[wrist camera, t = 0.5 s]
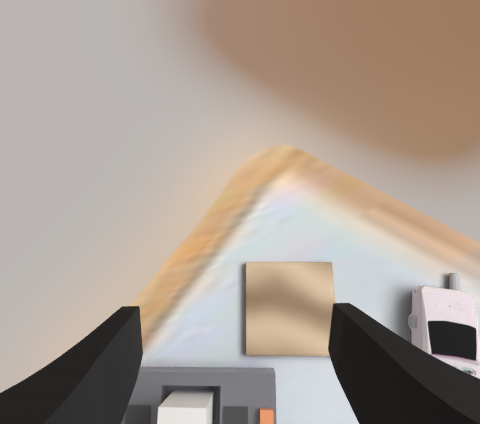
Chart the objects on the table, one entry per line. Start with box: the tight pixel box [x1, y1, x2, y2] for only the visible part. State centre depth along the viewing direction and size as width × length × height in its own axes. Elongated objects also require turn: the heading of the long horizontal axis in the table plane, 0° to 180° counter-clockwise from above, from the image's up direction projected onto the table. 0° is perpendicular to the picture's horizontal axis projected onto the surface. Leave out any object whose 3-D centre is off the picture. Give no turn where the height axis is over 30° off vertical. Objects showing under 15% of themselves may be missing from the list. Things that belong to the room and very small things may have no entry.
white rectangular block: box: [157, 390, 214, 424], centre depth 29 cm, size 4×4×6 cm
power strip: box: [121, 367, 276, 424], centre depth 31 cm, size 16×8×4 cm, turn 90°
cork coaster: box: [246, 262, 335, 356], centre depth 34 cm, size 10×10×1 cm
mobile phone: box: [408, 273, 480, 379], centre depth 29 cm, size 6×6×25 cm
